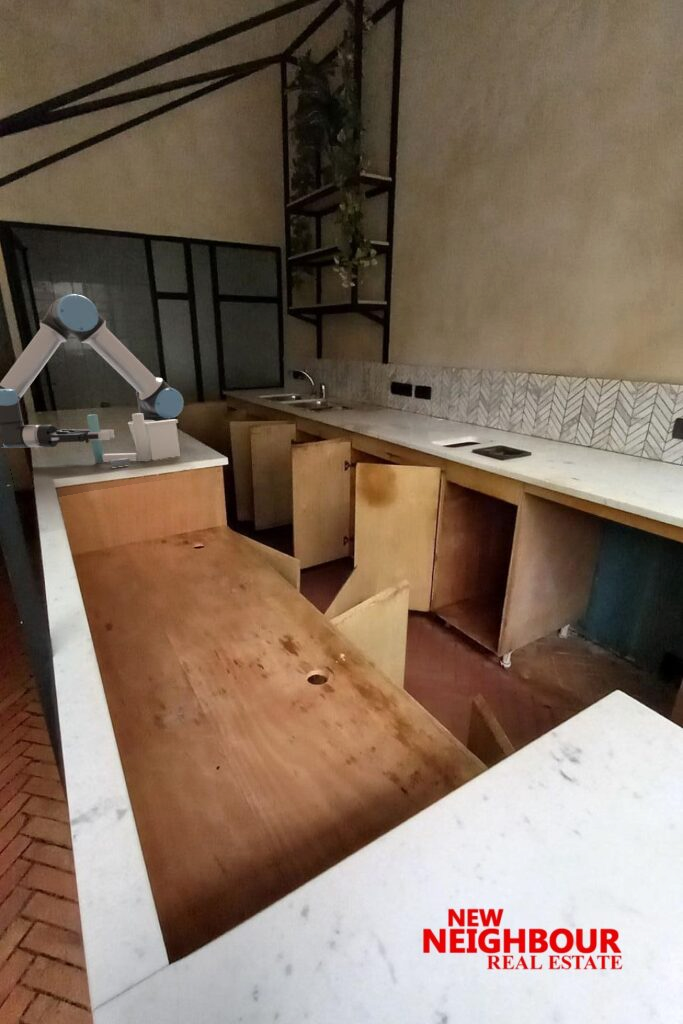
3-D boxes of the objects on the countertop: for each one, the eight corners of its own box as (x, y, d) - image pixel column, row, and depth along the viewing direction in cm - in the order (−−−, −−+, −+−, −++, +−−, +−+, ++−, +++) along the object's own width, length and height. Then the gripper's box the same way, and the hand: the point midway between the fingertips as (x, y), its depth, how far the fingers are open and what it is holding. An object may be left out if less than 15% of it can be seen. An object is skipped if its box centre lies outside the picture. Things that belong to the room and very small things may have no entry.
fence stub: (179, 454, 181) (174, 419, 177) (182, 456, 179) (177, 419, 175) (148, 459, 175) (143, 422, 170) (151, 461, 172) (146, 423, 168)
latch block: (128, 464, 168) (127, 457, 167) (130, 465, 166) (129, 458, 165) (109, 467, 164) (108, 460, 163) (111, 468, 162) (110, 461, 162)
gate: (151, 459, 174) (144, 413, 169) (148, 461, 171) (141, 414, 165) (97, 460, 173) (89, 414, 168) (93, 463, 170) (84, 415, 165)
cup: (133, 454, 183) (128, 424, 180) (130, 450, 192) (126, 421, 188) (161, 451, 188) (157, 422, 184) (157, 447, 196) (153, 419, 192)
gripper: (57, 442, 177) (122, 441, 177) (30, 451, 162) (102, 450, 162) (52, 421, 175) (119, 420, 175) (25, 428, 160) (98, 427, 160)
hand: (111, 434), depth 169 cm, fingers closed on gate, 3 cm apart
